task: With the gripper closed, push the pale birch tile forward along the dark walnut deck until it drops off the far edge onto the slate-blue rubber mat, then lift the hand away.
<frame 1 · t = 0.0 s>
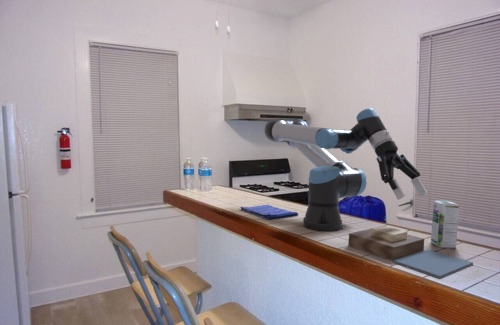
hand: (413, 196, 117), 15 cm above the counter, tool tilted 35°, fingers open, 13 cm apart
walnut deck: (385, 248, 108), on the counter
syrup box: (443, 245, 113), on the counter
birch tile: (388, 236, 107), point 4 cm above the counter, touching walnut deck
dish towel: (268, 214, 157), on the counter
slate mat: (432, 263, 96), on the counter
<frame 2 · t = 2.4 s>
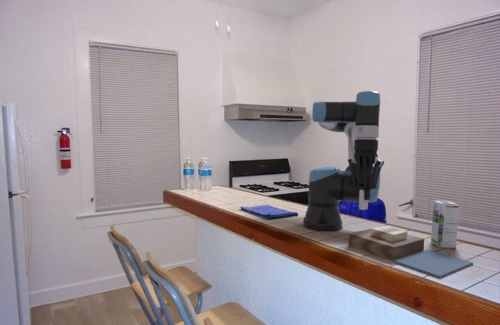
hand: (363, 209, 114), 11 cm above the counter, tool pointing down, fingers closed
nothing on the counter moved.
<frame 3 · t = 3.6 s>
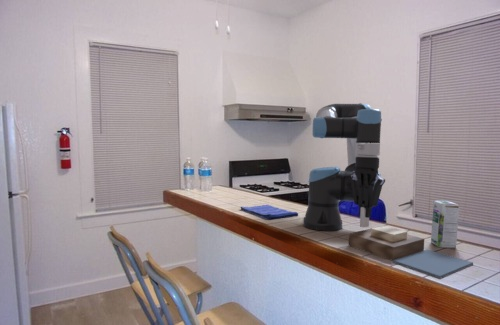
hand: (364, 226, 114), 5 cm above the counter, tool pointing down, fingers closed
nothing on the counter moved.
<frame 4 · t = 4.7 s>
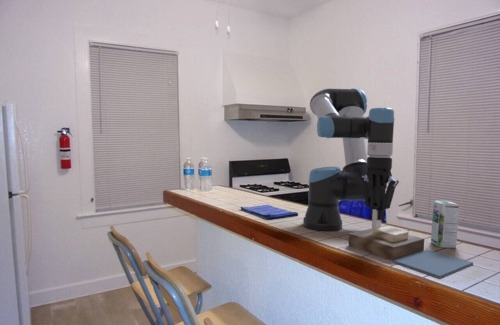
hand: (376, 229, 110), 5 cm above the counter, tool pointing down, fingers closed
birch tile: (389, 237, 106), point 4 cm above the counter, touching gripper, walnut deck
everything else where it was.
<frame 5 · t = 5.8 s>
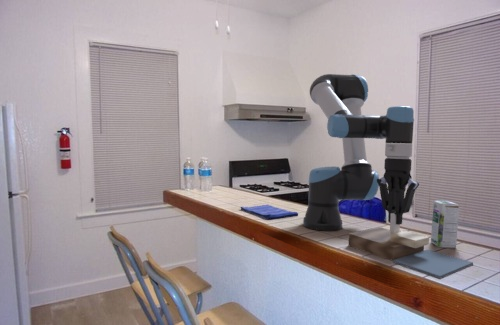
hand: (394, 234, 105), 5 cm above the counter, tool pointing down, fingers closed
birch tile: (409, 242, 101), point 4 cm above the counter, touching gripper
everything else where it was.
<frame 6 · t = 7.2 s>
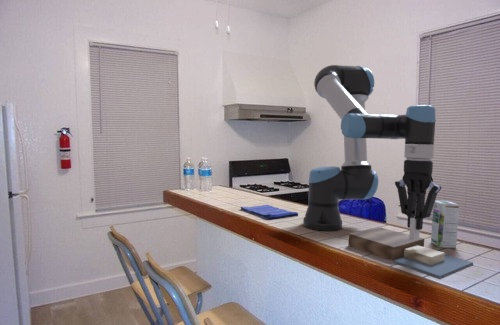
hand: (414, 239, 100), 5 cm above the counter, tool pointing down, fingers closed
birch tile: (423, 258, 98), point 1 cm above the counter, touching slate mat
everything else where it was.
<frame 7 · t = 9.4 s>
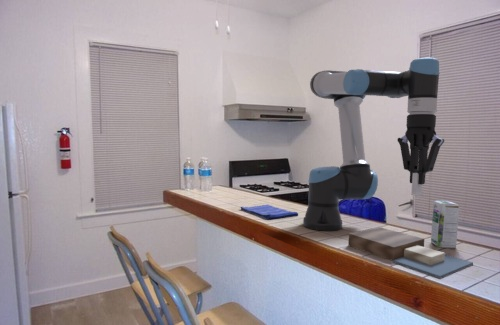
hand: (416, 194, 100), 18 cm above the counter, tool pointing down, fingers closed
nothing on the counter moved.
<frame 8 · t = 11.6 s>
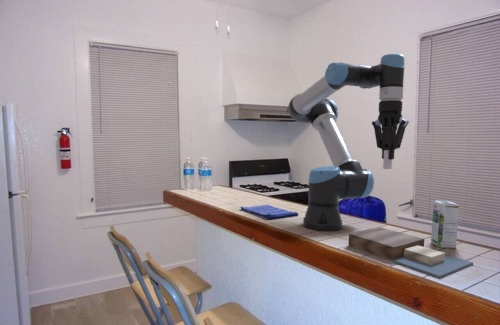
hand: (387, 168, 119), 24 cm above the counter, tool pointing down, fingers closed
nothing on the counter moved.
at the end: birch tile point 0.6 cm above the counter; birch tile inside the target area (3.0 cm from its centre), point 0.6 cm above the counter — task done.
